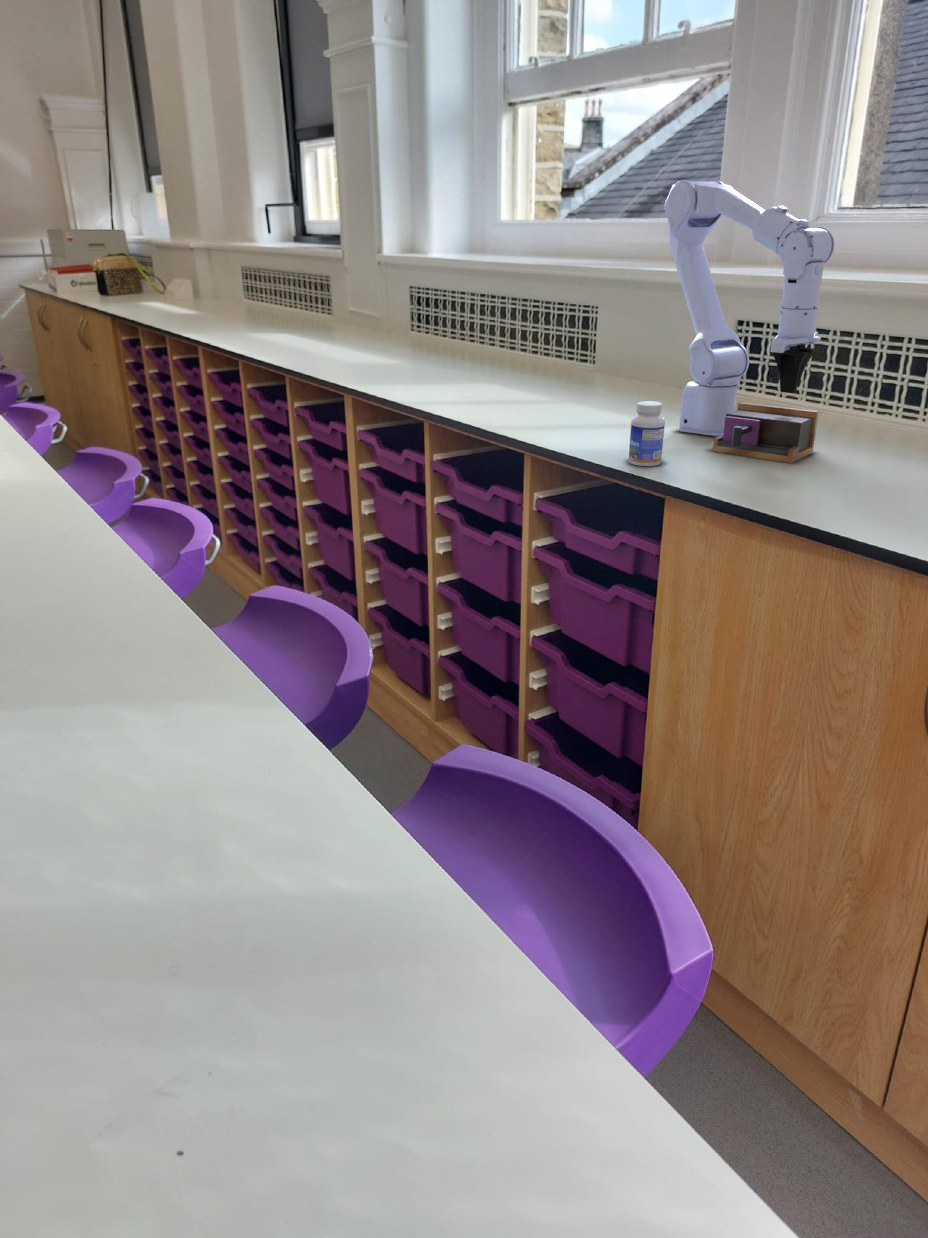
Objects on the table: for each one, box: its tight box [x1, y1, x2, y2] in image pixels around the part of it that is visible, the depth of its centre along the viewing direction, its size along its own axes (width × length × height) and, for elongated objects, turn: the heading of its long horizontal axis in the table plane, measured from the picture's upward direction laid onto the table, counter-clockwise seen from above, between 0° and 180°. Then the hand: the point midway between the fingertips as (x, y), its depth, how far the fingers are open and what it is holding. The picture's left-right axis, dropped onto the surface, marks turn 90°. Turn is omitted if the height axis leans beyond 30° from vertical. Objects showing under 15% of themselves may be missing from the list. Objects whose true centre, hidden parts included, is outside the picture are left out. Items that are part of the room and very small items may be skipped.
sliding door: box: [723, 416, 760, 447], centre depth 146 cm, size 6×6×5 cm
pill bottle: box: [628, 400, 666, 467], centre depth 143 cm, size 5×5×10 cm
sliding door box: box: [712, 401, 820, 464], centre depth 149 cm, size 14×9×7 cm, turn 49°
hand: (788, 391), depth 149 cm, fingers closed
